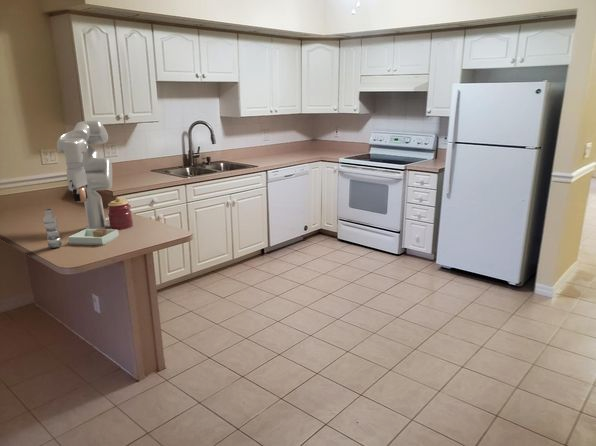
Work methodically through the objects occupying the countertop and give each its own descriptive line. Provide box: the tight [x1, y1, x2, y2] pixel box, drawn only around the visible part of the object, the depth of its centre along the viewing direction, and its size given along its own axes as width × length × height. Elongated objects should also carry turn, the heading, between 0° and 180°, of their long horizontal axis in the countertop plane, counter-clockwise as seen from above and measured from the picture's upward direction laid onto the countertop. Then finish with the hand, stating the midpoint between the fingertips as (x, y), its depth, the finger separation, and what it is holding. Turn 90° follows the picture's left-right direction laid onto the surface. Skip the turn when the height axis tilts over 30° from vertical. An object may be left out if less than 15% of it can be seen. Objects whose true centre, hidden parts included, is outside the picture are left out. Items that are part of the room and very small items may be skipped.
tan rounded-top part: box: [75, 187, 87, 203], centre depth 240 cm, size 5×5×7 cm
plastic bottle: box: [42, 208, 63, 249], centre depth 236 cm, size 6×7×20 cm
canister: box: [106, 196, 134, 230], centre depth 269 cm, size 13×13×18 cm
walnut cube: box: [93, 228, 108, 237], centre depth 246 cm, size 5×5×5 cm
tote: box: [67, 228, 120, 246], centre depth 247 cm, size 15×20×4 cm
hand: (81, 199), depth 241 cm, fingers closed on tan rounded-top part, 5 cm apart
